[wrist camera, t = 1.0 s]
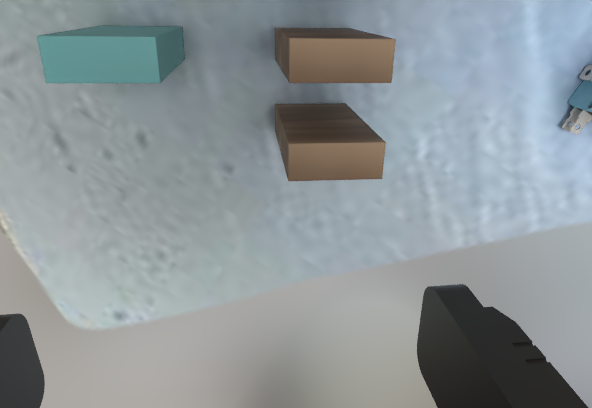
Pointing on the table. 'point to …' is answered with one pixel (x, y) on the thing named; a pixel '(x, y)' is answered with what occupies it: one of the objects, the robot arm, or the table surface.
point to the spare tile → (112, 54)
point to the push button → (581, 103)
